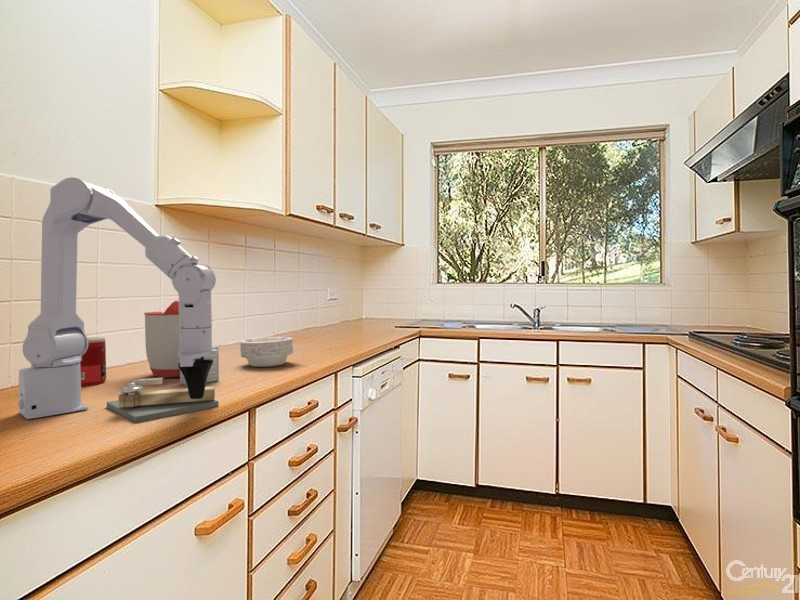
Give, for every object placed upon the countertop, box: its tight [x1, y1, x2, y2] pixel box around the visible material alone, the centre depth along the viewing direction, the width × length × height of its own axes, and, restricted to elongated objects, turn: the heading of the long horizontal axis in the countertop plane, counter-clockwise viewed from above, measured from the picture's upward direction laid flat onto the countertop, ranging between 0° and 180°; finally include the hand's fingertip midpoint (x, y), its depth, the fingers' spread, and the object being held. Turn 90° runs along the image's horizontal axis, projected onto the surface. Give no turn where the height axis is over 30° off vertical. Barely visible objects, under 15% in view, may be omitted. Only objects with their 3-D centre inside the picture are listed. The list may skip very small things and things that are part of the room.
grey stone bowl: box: [239, 336, 294, 368], centre depth 142 cm, size 15×15×8 cm
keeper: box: [132, 377, 164, 392], centre depth 95 cm, size 2×5×5 cm, turn 109°
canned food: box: [80, 337, 107, 387], centre depth 116 cm, size 8×8×11 cm
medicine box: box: [179, 345, 220, 386], centre depth 116 cm, size 8×4×9 cm, turn 141°
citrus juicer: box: [143, 300, 180, 379], centre depth 128 cm, size 16×17×20 cm
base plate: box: [106, 399, 219, 423], centre depth 93 cm, size 15×16×1 cm
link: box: [118, 386, 216, 407], centre depth 91 cm, size 16×4×2 cm, turn 109°
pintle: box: [120, 382, 142, 408], centre depth 89 cm, size 4×4×6 cm
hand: (196, 398), depth 90 cm, fingers closed
